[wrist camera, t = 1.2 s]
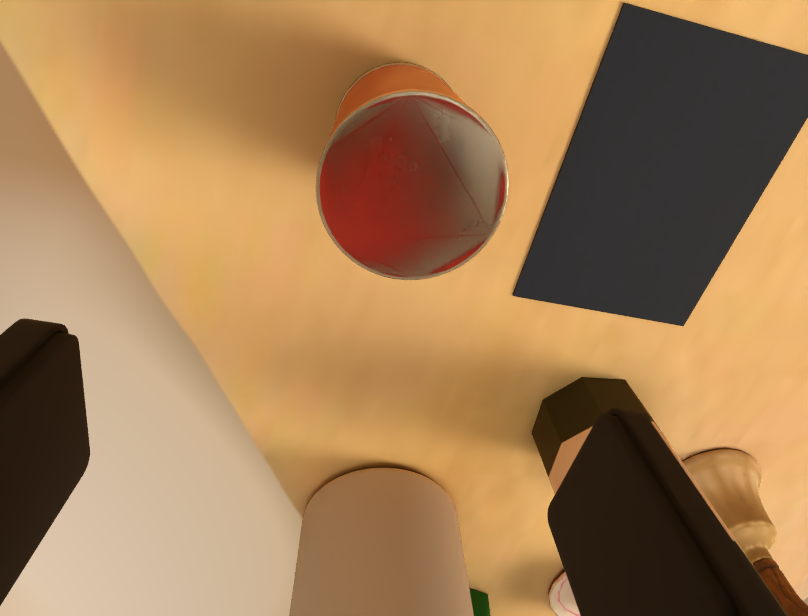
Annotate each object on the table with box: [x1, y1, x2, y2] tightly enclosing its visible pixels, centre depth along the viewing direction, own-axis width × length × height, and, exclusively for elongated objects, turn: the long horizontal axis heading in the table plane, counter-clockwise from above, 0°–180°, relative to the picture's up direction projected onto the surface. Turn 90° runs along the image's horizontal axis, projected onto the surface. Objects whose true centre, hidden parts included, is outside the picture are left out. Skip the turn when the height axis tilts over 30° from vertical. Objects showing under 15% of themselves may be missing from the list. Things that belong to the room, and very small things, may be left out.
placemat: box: [513, 3, 808, 326], centre depth 28 cm, size 16×12×1 cm
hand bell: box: [683, 449, 808, 616], centre depth 35 cm, size 8×8×16 cm
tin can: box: [316, 63, 509, 280], centre depth 22 cm, size 7×7×10 cm
